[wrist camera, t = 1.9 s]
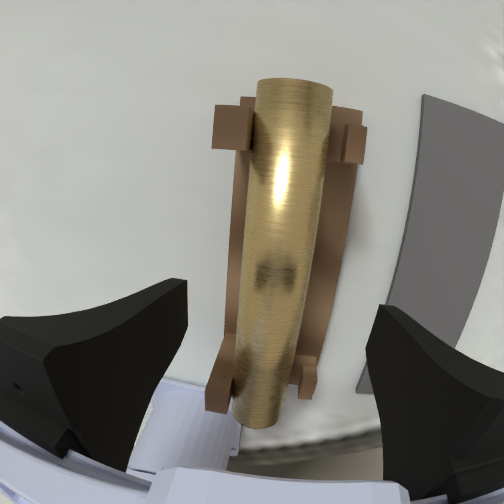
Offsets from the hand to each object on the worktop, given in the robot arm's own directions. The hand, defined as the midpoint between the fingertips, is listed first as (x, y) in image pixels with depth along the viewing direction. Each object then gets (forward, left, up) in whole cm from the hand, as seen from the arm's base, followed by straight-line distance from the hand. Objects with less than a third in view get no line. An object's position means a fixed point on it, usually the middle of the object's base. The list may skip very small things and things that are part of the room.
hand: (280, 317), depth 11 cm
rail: (0, 0, -3) cm, 3 cm away
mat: (0, -10, -8) cm, 13 cm away
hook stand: (0, 0, -8) cm, 8 cm away
